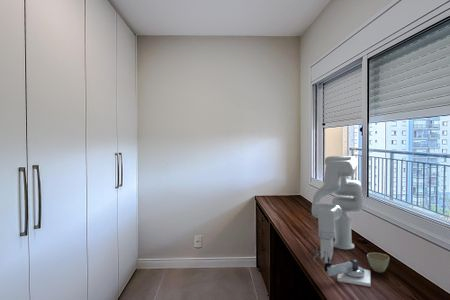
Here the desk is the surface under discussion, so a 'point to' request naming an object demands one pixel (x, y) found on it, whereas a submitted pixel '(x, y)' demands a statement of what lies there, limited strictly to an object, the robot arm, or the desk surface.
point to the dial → (346, 269)
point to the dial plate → (359, 281)
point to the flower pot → (378, 261)
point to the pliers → (317, 253)
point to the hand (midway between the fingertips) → (328, 270)
